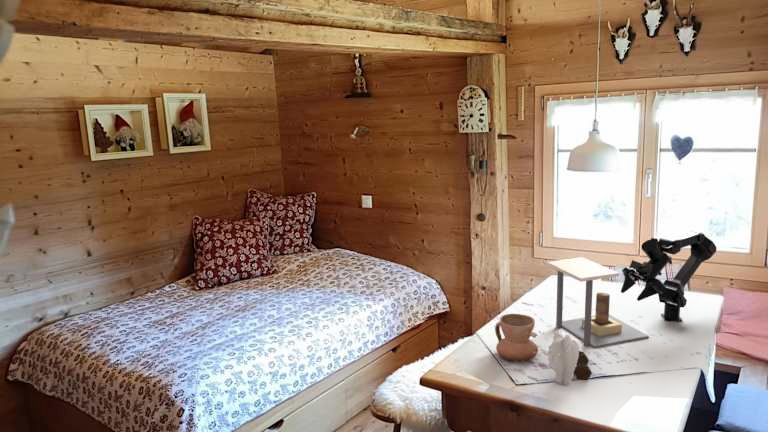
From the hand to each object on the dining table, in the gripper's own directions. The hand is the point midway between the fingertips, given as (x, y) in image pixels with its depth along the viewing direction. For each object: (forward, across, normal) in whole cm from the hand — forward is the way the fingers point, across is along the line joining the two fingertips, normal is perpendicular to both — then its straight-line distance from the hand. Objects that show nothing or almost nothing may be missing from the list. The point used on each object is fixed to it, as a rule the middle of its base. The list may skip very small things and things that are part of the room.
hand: (629, 296), depth 224 cm
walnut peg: (+16, -2, +2) cm, 17 cm away
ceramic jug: (+46, +6, -27) cm, 54 cm away
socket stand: (+19, -2, 0) cm, 19 cm away
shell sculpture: (+43, +28, -24) cm, 57 cm away
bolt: (+36, +23, -16) cm, 45 cm away
